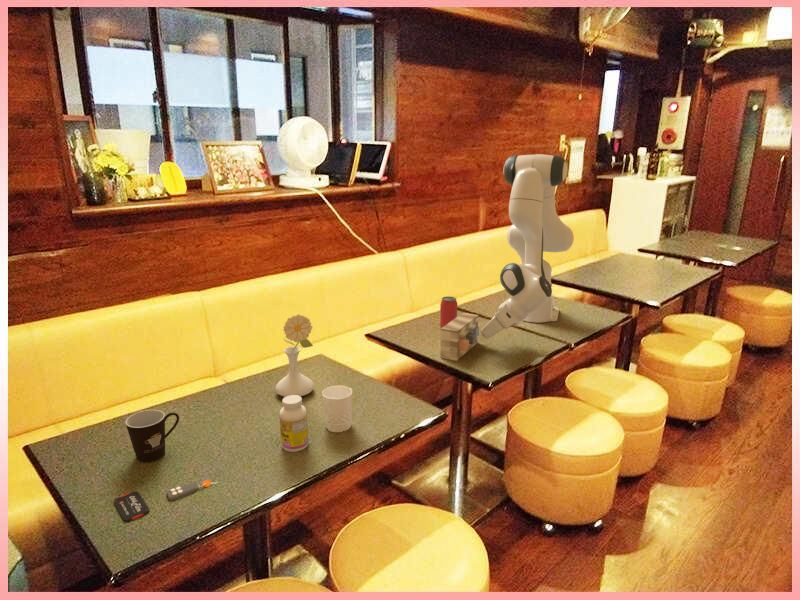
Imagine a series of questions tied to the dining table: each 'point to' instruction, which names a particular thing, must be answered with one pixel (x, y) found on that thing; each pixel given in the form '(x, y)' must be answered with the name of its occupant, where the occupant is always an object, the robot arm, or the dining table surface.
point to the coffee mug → (148, 434)
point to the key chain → (186, 490)
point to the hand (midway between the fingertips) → (483, 334)
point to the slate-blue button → (476, 331)
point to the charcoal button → (471, 338)
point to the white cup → (337, 408)
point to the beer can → (447, 310)
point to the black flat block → (131, 506)
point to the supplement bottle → (293, 424)
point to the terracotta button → (463, 344)
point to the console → (457, 335)
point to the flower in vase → (295, 357)
